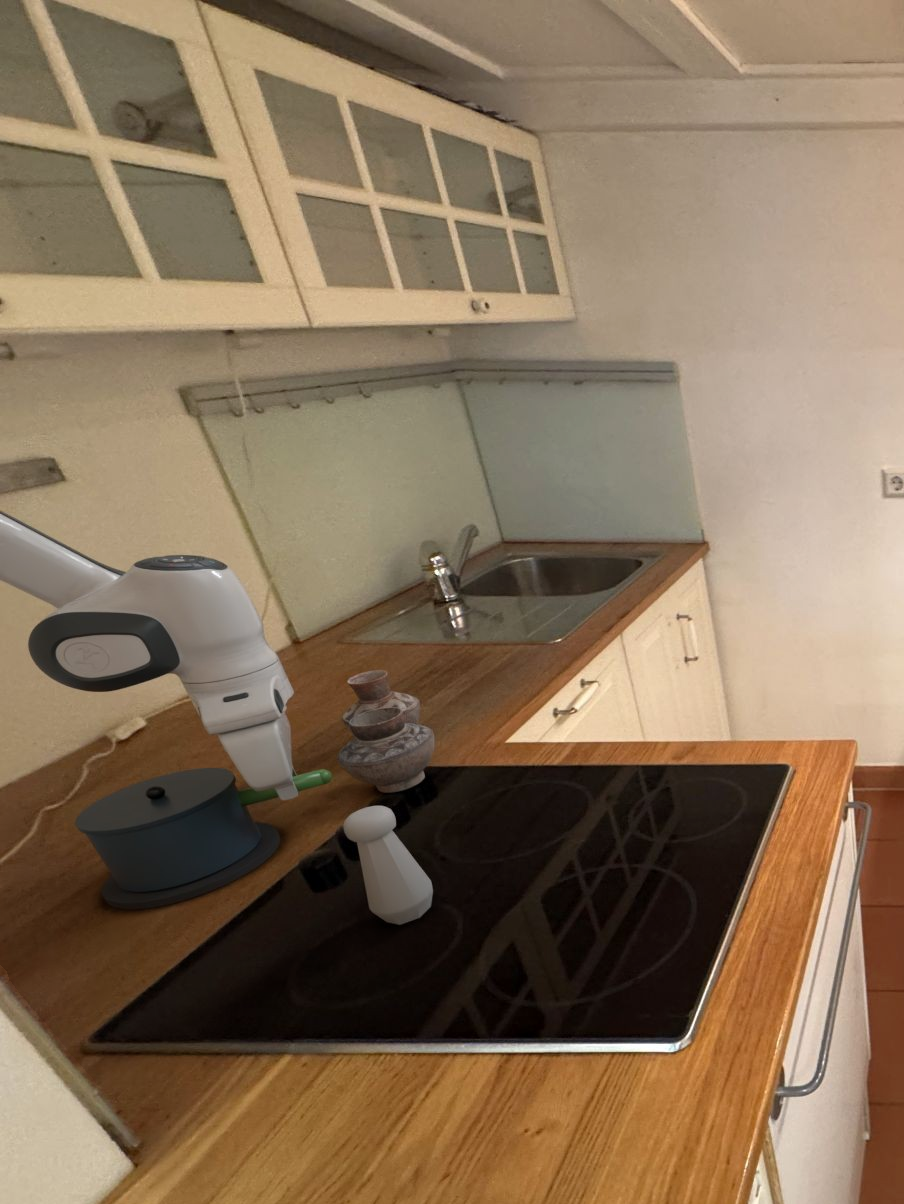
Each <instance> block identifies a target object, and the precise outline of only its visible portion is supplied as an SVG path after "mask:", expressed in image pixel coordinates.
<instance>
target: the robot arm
mask: <svg viewBox="0 0 904 1204" xmlns="http://www.w3.org/2000/svg"><path fill="white" fill-rule="evenodd" d="M0 581H2V582H4V583H5V584H8V585H10V586H12V587H14V588H16V589H18V590H20V591H22V592H25V593H27V594H29V595H31V596H33V597H34V598H37V599H39V600H40V601H43V602H45V603H47V604H49V605H51V606H53V607H54V608H56V609H55V610H54V611H52V612H51V613H49V614H48V615H46V616H45V617H44V618H43V619H41V621H40V622H39V623H37V624H36V626H34V628H33V629H32V630H31V632H30V633H29V636H28V641H27V642H28V643H27V647H28V653H29V655H30V657H31V659H32V661H33V663H34V664H35V665H36V667H37V668H38V669H39V670H40V671H41V672H42V673H43V674H44V675H46V676H47V677H48V678H50V679H51V680H53V681H55V682H57V683H59V684H61V685H63V686H65V687H68V688H72V689H74V690H78V691H84V692H91V693H109V692H115V691H120V690H123V689H127V688H130V687H133V686H137V685H140V684H143V683H146V682H149V681H152V680H155V679H159V678H160V677H163V676H165V675H169V674H170V675H172V674H173V675H175V676H177V677H178V678H179V680H180V682H181V684H182V686H183V688H184V690H185V692H186V693H187V696H188V698H189V699H190V701H191V703H192V705H193V707H194V709H195V711H196V713H197V715H198V716H199V718H200V721H201V722H202V726H203V727H204V729H205V730H206V732H207V734H208V735H210V736H213V735H217V737H218V740H219V742H220V743H221V746H222V748H223V749H224V750H225V752H226V754H227V756H228V757H229V758H230V760H231V761H232V764H233V765H234V766H235V768H236V769H237V771H238V772H239V774H240V775H241V777H242V779H243V780H244V781H245V783H246V784H247V786H249V788H252V789H253V790H255V791H264V790H268V789H271V788H274V789H275V790H276V792H277V794H278V796H279V797H278V798H279V800H281V801H289V800H293V799H295V798H298V797H299V792H298V788H297V787H296V784H295V782H294V780H292V779H293V776H297V775H298V774H297V773H296V770H295V769H294V765H293V757H292V755H293V754H292V733H291V731H292V729H291V728H292V727H291V724H290V721H289V718H288V716H287V714H286V711H287V709H288V707H287V704H288V703H287V702H288V701H289V700H290V699H291V698H292V697H293V696H294V694H295V691H294V688H293V686H292V684H291V682H290V680H289V678H288V675H287V673H286V671H285V668H284V666H283V665H282V662H281V660H280V658H279V655H278V654H277V652H276V651H275V650H274V649H273V648H272V647H271V645H269V643H268V641H267V639H266V637H265V629H264V623H263V620H262V618H261V616H260V614H259V611H258V610H257V608H256V605H255V604H254V601H253V600H252V598H251V596H250V595H249V592H248V591H247V589H246V587H245V585H244V584H243V583H242V581H241V580H240V577H238V575H237V574H236V573H235V572H234V571H233V569H232V568H231V567H229V565H227V564H225V563H224V562H222V561H221V560H217V559H216V558H213V557H206V556H203V555H192V554H171V555H163V556H152V557H147V558H144V559H141V560H138V561H136V562H134V563H133V564H132V565H131V566H130V568H129V569H128V570H127V571H124V570H120V569H117V568H114V567H112V566H109V565H106V564H105V563H101V562H99V561H98V560H95V559H94V558H92V557H90V556H88V555H86V554H84V553H82V552H80V551H78V550H76V549H75V548H73V547H70V546H68V545H66V544H65V543H63V542H61V541H59V540H57V539H55V538H53V537H51V536H50V535H49V534H46V533H44V532H42V531H40V530H38V529H37V528H35V527H32V525H29V524H27V523H25V522H23V521H21V520H19V519H17V518H16V517H14V516H12V515H10V514H8V513H6V512H5V511H2V510H0Z"/></svg>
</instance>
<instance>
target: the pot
mask: <svg viewBox="0 0 904 1204" xmlns="http://www.w3.org/2000/svg"><path fill="white" fill-rule="evenodd" d="M332 779H333V774H332V773H331V771H330V770H328V769H324V768H320V769H315V770H313V771H309V772H305V773H300V774H297V776H293V779H292V780H294V782H295V784H296V787H297V788H298V793H299V792H303V791H306V790H309V789H314V788H316V787H320V786H324V785H327V784H329V783H330V782H331V781H332ZM236 782H237V778H236V776H235V774H234V772H233V771H232V770H229V769H227V768H222V767H200V768H191V769H186V770H180V771H175V772H171V773H167V774H163V775H158V776H155V777H152V778H148V779H146V780H143V781H140V782H137V783H134V784H131V785H129V786H126V787H124V788H121V789H119V790H116V791H113V792H112V793H110V794H107V795H106V796H103V797H102V798H99V799H97V800H96V801H94V802H93V803H91V804H90V805H87V807H86V808H84V809H83V810H82V811H81V812H80V813H79V814H78V815H77V816H76V818H75V820H74V825H75V827H76V829H77V830H78V832H80V833H82V834H85V835H86V837H87V839H88V841H89V842H90V844H91V845H92V847H93V848H94V850H95V852H96V853H97V854H98V856H99V857H100V859H101V861H102V863H104V865H105V867H106V868H107V869H108V872H109V873H110V875H112V876H113V878H114V879H115V881H116V882H117V884H118V885H119V887H120V888H122V889H123V890H127V891H132V892H147V891H156V890H161V889H166V888H171V887H175V886H178V885H182V884H185V883H189V882H192V881H195V880H197V879H200V878H203V877H205V876H208V875H210V874H212V873H215V872H217V871H219V870H221V869H223V868H225V867H227V866H229V865H231V864H233V863H234V862H236V861H238V860H239V859H241V858H242V857H244V856H245V855H246V854H248V853H249V852H250V851H251V850H252V849H253V848H255V846H256V845H257V844H258V842H259V841H260V838H261V833H260V831H259V829H258V827H257V825H256V823H255V822H256V821H255V819H254V818H253V815H252V813H251V812H250V810H249V807H248V806H251V805H254V804H258V803H262V802H265V801H269V800H272V799H276V798H279V796H278V794H277V792H276V790H275V789H274V788H271V789H268V790H264V791H255V790H253V789H252V788H251V787H248V788H244V789H241V790H239V789H238V787H237V785H236Z"/></svg>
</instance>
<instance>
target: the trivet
mask: <svg viewBox="0 0 904 1204" xmlns="http://www.w3.org/2000/svg"><path fill="white" fill-rule="evenodd" d="M255 823H256V825H257V827H258V829H259V831H260V833H261V838H260V841H259V842H258V844H257V845H256V846H255V848H253V849H252V850H251V851H250V852H249V853H248V854H246V855H245V856H244V857H242V858H241V859H239V860H238V861H236V862H234V863H233V864H231V865H229V866H227V867H225V868H223V869H221V870H219V871H217V872H215V873H212V874H210V875H208V876H205V877H203V878H200V879H197V880H195V881H192V882H189V883H185V884H182V885H178V886H175V887H171V888H166V889H161V890H156V891H147V892H132V891H127V890H123V889H122V888H120V887H119V885H118V884H117V882H116V881H115V879H114V878H113V876H112V875H111V874H110V875H109V876H108V877H107V878H106V879H105V881H104V882H103V884H102V887H101V889H100V890H101V891H100V893H101V897H102V898H103V899H104V901H105V902H106V903H107V904H108V905H109V906H111V907H112V908H115V909H119V910H127V911H129V910H131V911H132V910H134V911H135V910H146V909H154V908H160V907H164V906H169V905H173V904H176V903H181V902H184V901H187V900H191V899H194V898H196V897H199V896H202V895H205V894H207V893H210V892H212V891H216V890H217V889H220V888H221V887H224V886H227V885H228V884H230V883H233V882H234V881H236V880H238V879H240V878H242V877H243V876H245V875H247V874H249V873H250V872H252V871H254V870H255V869H257V868H258V867H260V866H261V865H262V864H264V863H265V862H266V861H268V859H270V857H272V856H273V855H274V854H275V853H276V851H277V849H278V848H279V846H280V843H281V836H280V834H279V832H278V830H277V828H276V827H275V826H273V825H271V824H269V823H266V822H261V821H255Z"/></svg>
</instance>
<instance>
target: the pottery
mask: <svg viewBox="0 0 904 1204" xmlns="http://www.w3.org/2000/svg"><path fill="white" fill-rule="evenodd" d="M346 683H347V684H348V686H349V687H350V688H351V689H352V691H354V693H355V695H356V697H357V698H358V700H357V701H356V702H355V703H354V704H352V705H351V706H350V707H349V708H348V709H347V710H346V711H345V712H344V714H343V716H342V718H341V722H342V723H343V725H344V727H346V728H347V730H349V732H350V733H351V734H353V736H355V737H353V738H352V739H351V740H349V741H348V742H347V744H345V745H344V746H343V747H342V748H341V749H340V750H339V752H338V754H337V757H336V759H337V761H338V762H339V763H338V764H339V765H340V766H341V767H342V769H343V770H345V772H347V774H349V775H351V776H352V777H353V778H355V779H357V780H359V781H361V782H363V783H367V784H369V785H374V786H376V789H377V790H378V791H379V792H381V793H386V794H387V793H389V794H391V793H398V792H403V791H406V790H408V789H411V788H413V787H415V786H417V785H419V784H420V783H422V782H423V780H424V779H425V778H426V775H425V772H424V770H425V769H426V767H427V766H428V765H429V763H430V762H431V760H432V757H433V754H434V750H435V741H436V740H435V734H434V731H433V729H432V728H430V727H427V726H425V725H422V724H419V721H420V715H421V703H420V700H419V699H418V697H416V696H414V695H410V694H409V693H403V692H399V691H392V689H391V686H390V679H389V672H388V671H387V670H384V669H376V670H369V671H364V672H361V673H358V674H354V675H353V676H350V677H349V678H348V679H347V681H346Z"/></svg>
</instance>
